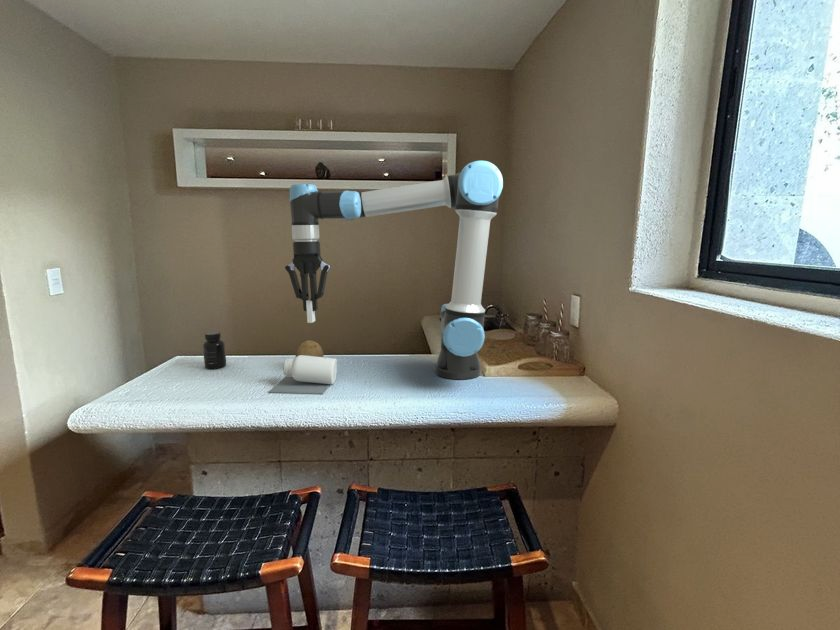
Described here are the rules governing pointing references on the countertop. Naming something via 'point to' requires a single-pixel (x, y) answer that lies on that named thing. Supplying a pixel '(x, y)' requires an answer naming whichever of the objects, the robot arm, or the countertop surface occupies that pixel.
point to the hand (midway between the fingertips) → (311, 321)
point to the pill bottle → (311, 369)
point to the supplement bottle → (214, 351)
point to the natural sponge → (310, 349)
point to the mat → (298, 387)
